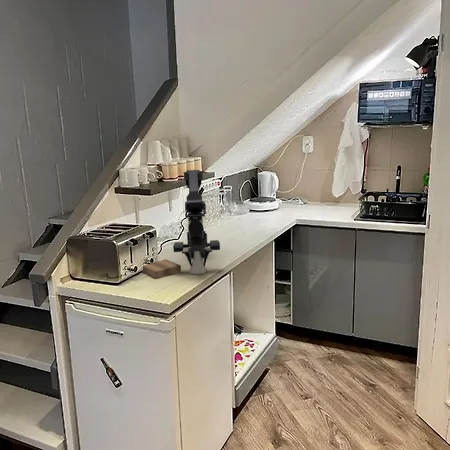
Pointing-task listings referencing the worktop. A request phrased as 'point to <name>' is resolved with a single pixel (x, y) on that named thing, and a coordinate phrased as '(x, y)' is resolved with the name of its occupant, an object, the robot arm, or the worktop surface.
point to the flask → (197, 264)
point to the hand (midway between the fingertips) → (197, 266)
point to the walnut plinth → (161, 269)
